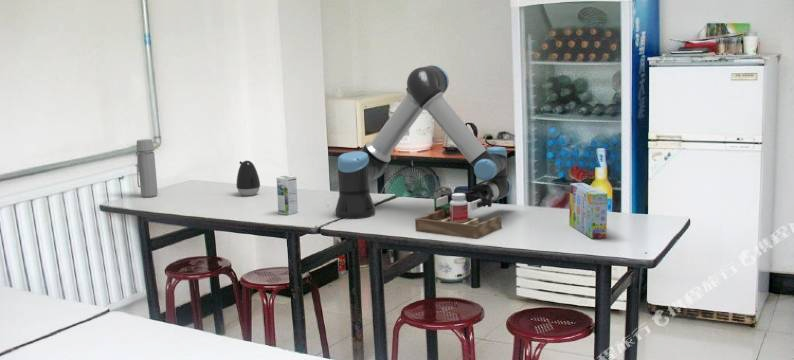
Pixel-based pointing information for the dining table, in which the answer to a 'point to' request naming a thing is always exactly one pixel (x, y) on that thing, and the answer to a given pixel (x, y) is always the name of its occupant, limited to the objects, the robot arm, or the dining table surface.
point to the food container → (438, 195)
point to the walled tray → (456, 225)
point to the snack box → (588, 210)
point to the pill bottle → (458, 208)
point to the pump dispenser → (247, 179)
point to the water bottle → (146, 168)
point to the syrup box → (287, 195)
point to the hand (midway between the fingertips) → (453, 204)
